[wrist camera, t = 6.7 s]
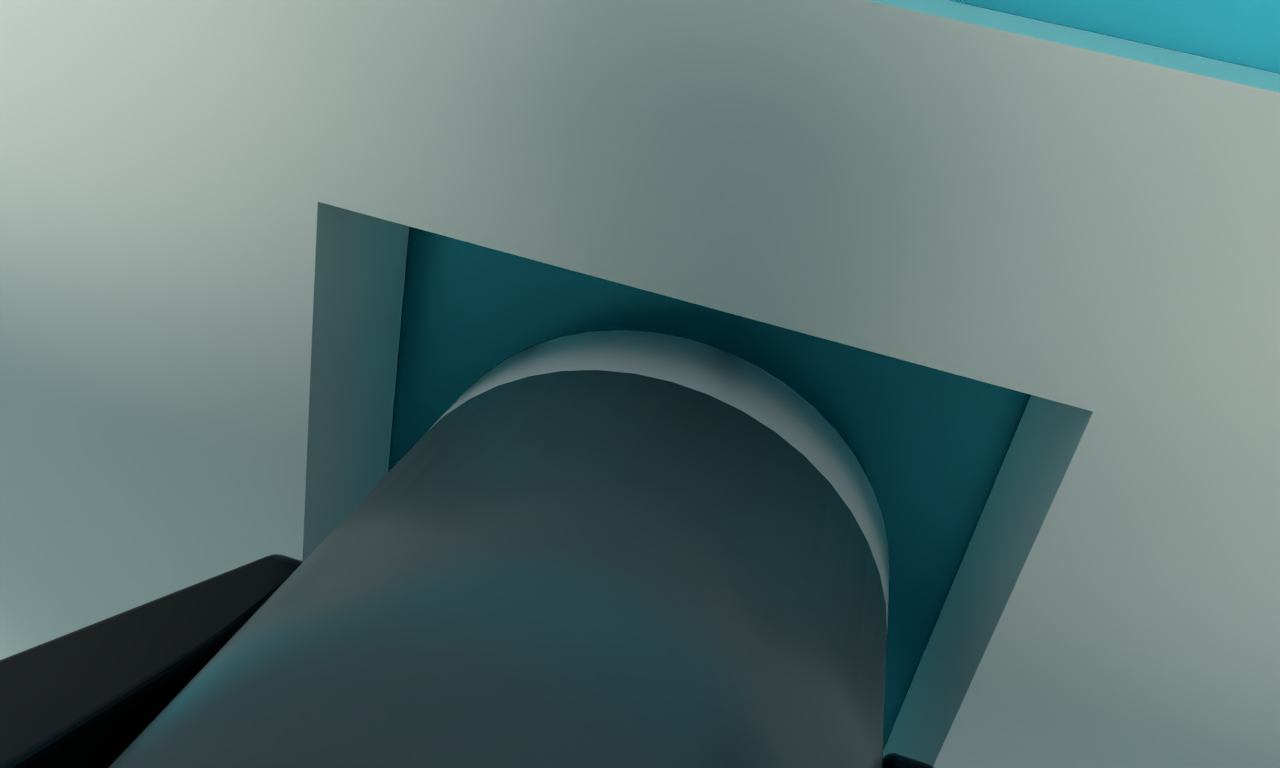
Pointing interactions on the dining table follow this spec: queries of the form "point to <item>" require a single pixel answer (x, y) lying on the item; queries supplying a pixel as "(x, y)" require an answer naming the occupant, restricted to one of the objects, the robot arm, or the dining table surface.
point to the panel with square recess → (675, 267)
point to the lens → (574, 587)
